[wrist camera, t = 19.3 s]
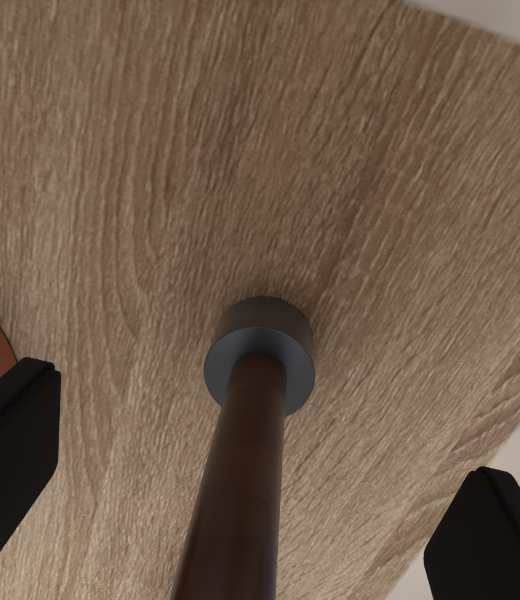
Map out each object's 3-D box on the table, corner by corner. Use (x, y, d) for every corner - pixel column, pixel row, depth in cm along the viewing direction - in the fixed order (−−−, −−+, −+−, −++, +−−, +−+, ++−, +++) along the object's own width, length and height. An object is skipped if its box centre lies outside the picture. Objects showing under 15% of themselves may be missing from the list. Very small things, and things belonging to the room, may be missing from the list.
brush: (226, 285, 18) (94, 587, 7) (324, 309, 19) (368, 651, 7) (209, 368, 20) (80, 724, 8) (298, 390, 20) (297, 774, 8)
